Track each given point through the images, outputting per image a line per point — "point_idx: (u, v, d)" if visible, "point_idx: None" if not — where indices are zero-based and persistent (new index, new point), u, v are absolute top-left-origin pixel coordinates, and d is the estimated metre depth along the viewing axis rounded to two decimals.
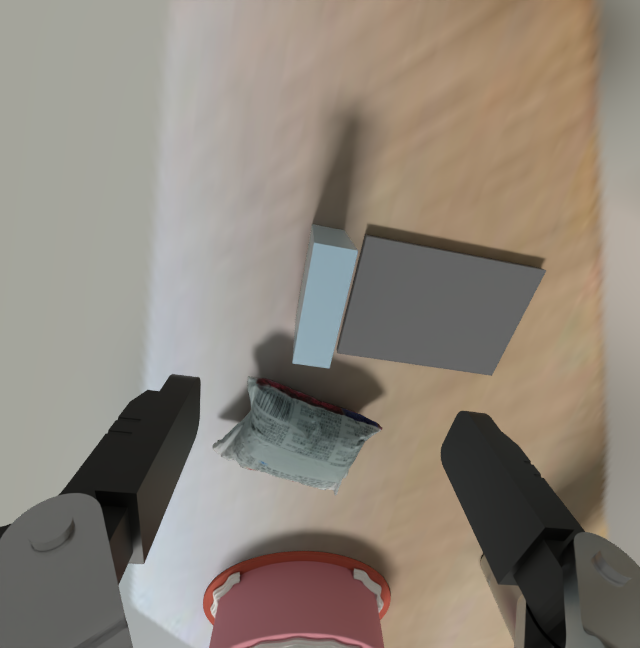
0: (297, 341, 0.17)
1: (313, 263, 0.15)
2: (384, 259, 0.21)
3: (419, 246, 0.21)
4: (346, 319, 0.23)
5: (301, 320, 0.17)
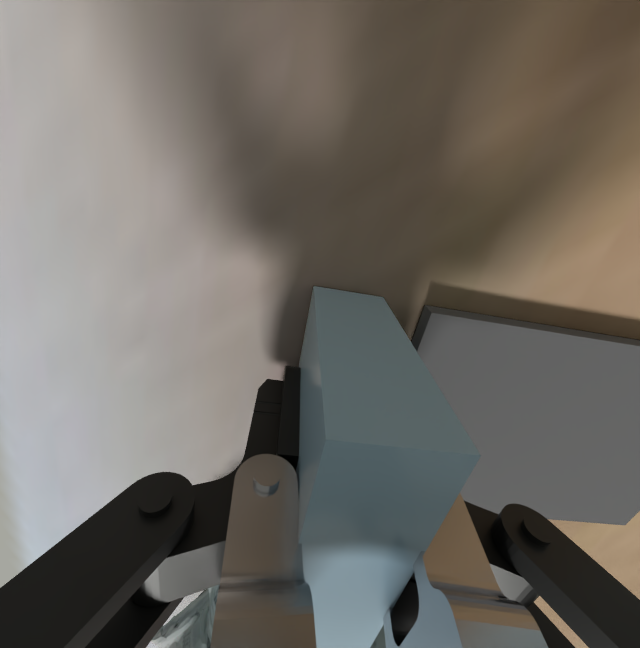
0: None
1: (321, 490, 0.05)
2: (464, 355, 0.10)
3: (538, 329, 0.10)
4: None
5: None
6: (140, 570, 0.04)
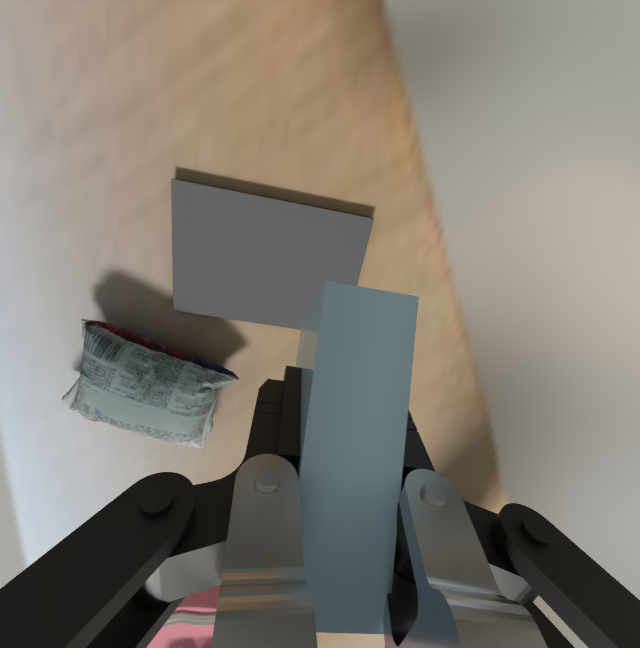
0: None
1: (325, 325, 0.07)
2: (197, 205, 0.20)
3: (232, 191, 0.20)
4: (173, 272, 0.22)
5: (302, 479, 0.06)
6: (141, 571, 0.04)
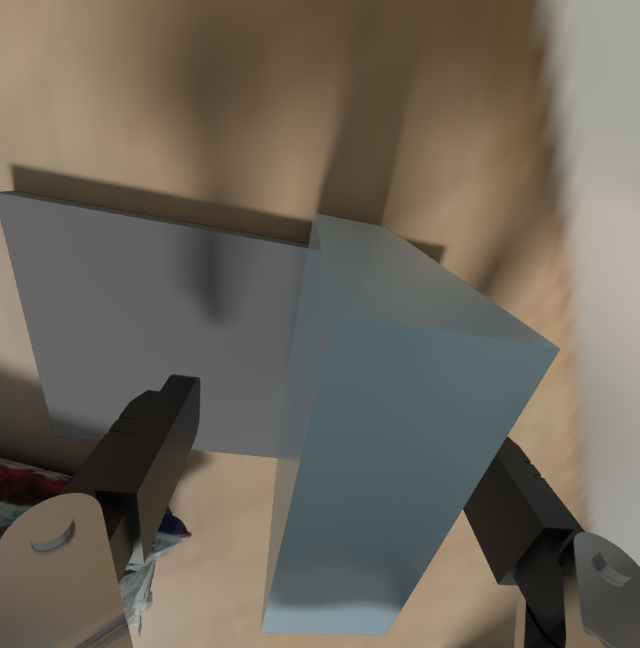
0: (330, 267, 0.04)
1: (320, 218, 0.08)
2: (65, 249, 0.09)
3: (139, 218, 0.09)
4: (41, 375, 0.11)
5: (324, 245, 0.05)
6: None
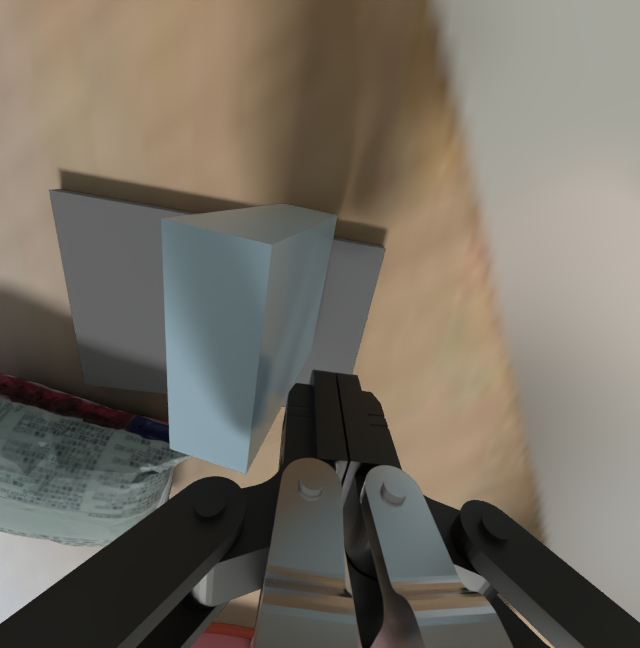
0: (207, 214, 0.07)
1: (277, 205, 0.11)
2: (98, 232, 0.12)
3: (153, 208, 0.12)
4: (76, 333, 0.14)
5: (234, 210, 0.08)
6: (194, 574, 0.05)
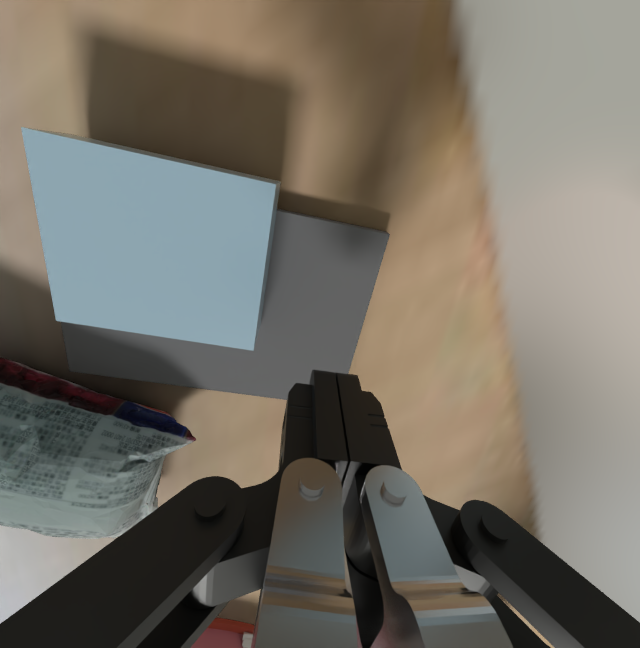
0: (119, 145, 0.11)
1: (252, 175, 0.11)
2: None
3: None
4: None
5: (159, 154, 0.11)
6: (193, 575, 0.04)
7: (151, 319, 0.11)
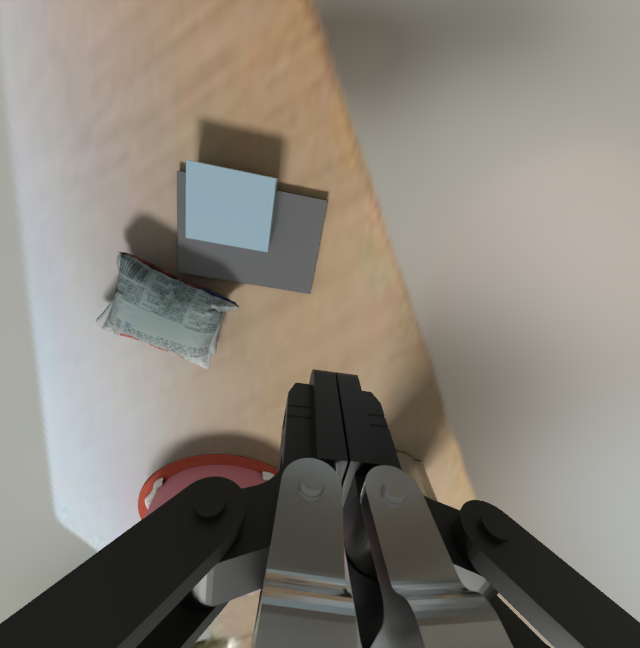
0: (212, 164, 0.26)
1: None
2: None
3: None
4: (178, 242, 0.29)
5: None
6: (193, 575, 0.04)
7: (224, 236, 0.27)
